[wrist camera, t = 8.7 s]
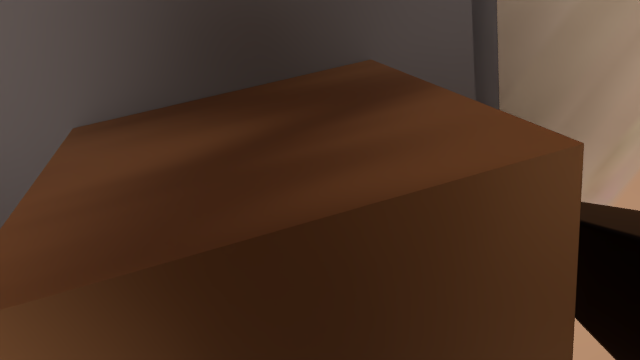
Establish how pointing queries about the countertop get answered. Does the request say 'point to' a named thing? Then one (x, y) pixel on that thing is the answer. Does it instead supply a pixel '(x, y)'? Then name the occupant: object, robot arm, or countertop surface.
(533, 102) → the countertop surface
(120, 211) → the walnut cube
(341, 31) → the book
